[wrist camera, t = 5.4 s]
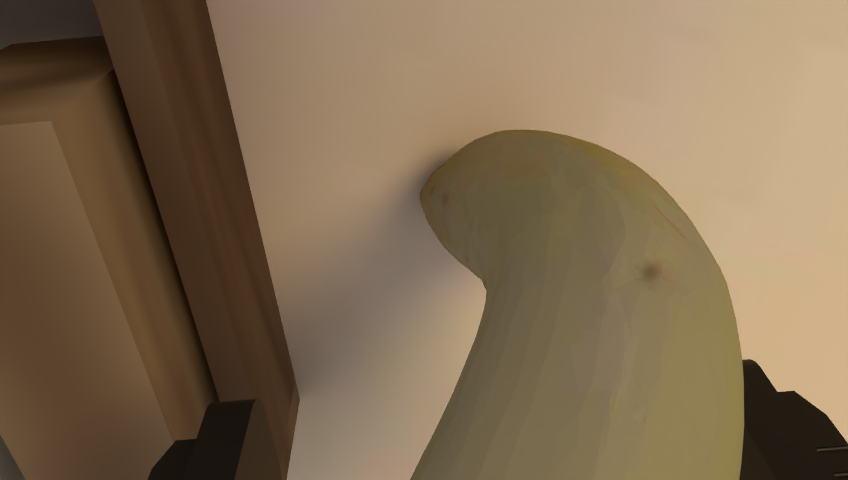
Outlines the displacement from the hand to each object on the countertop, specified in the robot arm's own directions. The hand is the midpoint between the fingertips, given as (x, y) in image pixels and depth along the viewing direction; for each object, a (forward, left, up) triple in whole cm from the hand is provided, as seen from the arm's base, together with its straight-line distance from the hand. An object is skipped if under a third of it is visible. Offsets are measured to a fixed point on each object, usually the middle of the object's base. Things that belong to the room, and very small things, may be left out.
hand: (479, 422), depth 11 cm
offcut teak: (+8, 0, -9) cm, 12 cm away
